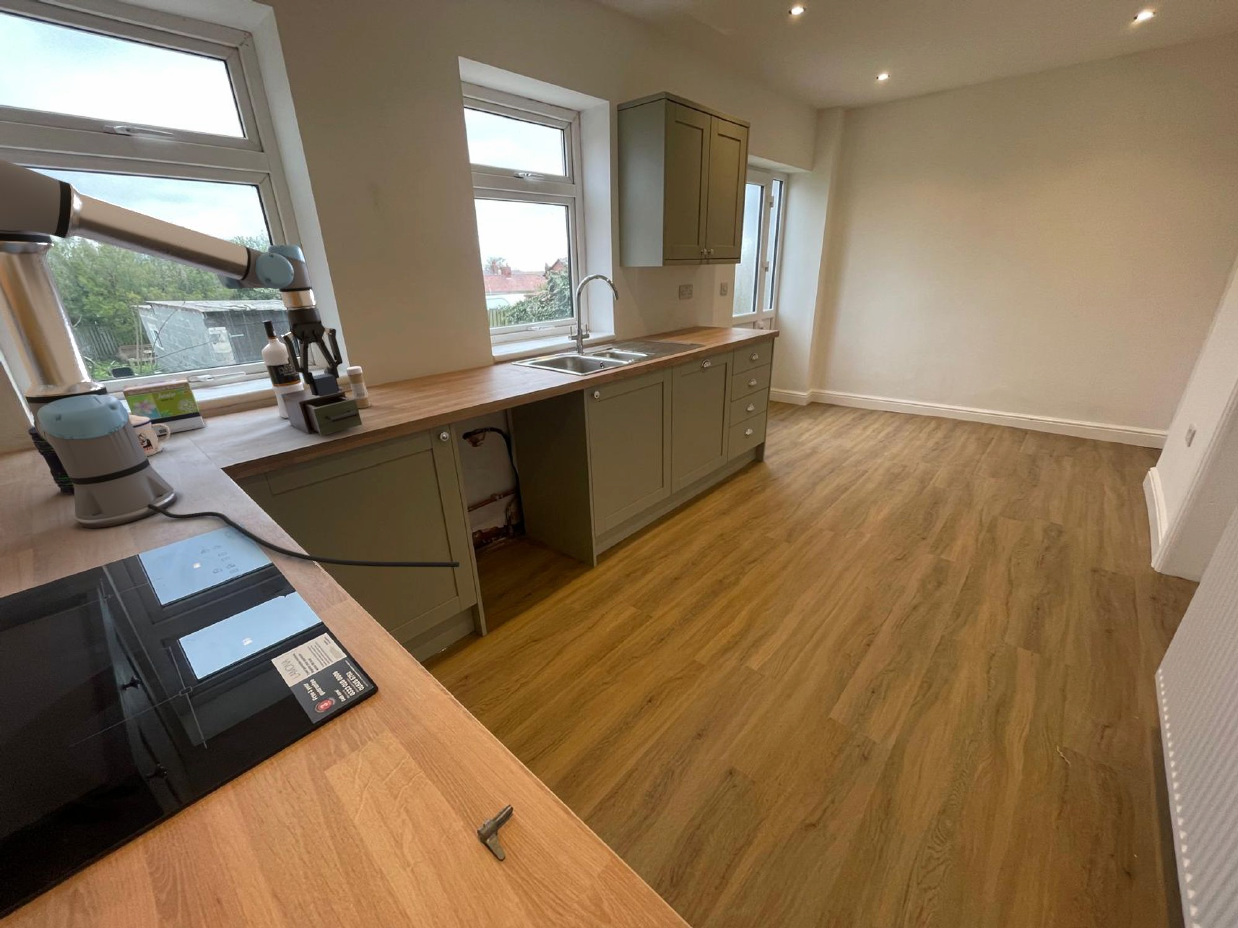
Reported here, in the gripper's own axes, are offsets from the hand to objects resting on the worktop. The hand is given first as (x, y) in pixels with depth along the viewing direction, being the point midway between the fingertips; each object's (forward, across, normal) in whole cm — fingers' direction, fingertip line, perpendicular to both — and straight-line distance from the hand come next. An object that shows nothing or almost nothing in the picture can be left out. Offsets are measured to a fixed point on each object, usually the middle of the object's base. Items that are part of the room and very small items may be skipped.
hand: (326, 392), depth 143 cm
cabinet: (+11, 0, -11) cm, 16 cm away
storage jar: (+11, +52, -9) cm, 54 cm away
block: (0, 0, 0) cm, 0 cm away
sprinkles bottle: (+12, -16, -18) cm, 27 cm away
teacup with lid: (+11, +39, -26) cm, 48 cm away
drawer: (+10, 0, +1) cm, 10 cm away
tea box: (+11, +30, -46) cm, 56 cm away
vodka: (+12, +1, -29) cm, 31 cm away
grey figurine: (+12, -15, -38) cm, 42 cm away
